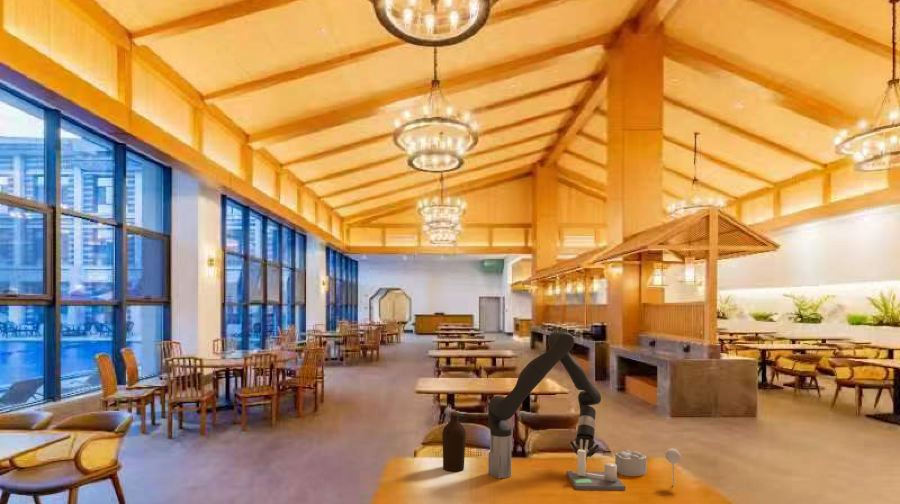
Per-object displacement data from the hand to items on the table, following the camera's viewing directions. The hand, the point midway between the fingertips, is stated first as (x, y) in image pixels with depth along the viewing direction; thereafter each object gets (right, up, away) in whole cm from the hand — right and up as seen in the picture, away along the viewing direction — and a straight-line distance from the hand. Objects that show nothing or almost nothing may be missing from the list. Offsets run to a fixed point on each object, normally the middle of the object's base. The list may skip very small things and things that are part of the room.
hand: (582, 464), depth 231 cm
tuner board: (+4, -5, -5) cm, 8 cm away
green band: (-2, -4, -9) cm, 10 cm away
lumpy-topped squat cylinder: (+24, -7, +9) cm, 27 cm away
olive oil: (-56, -6, +9) cm, 56 cm away
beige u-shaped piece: (+4, -3, -5) cm, 7 cm away
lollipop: (+36, -6, -8) cm, 37 cm away
